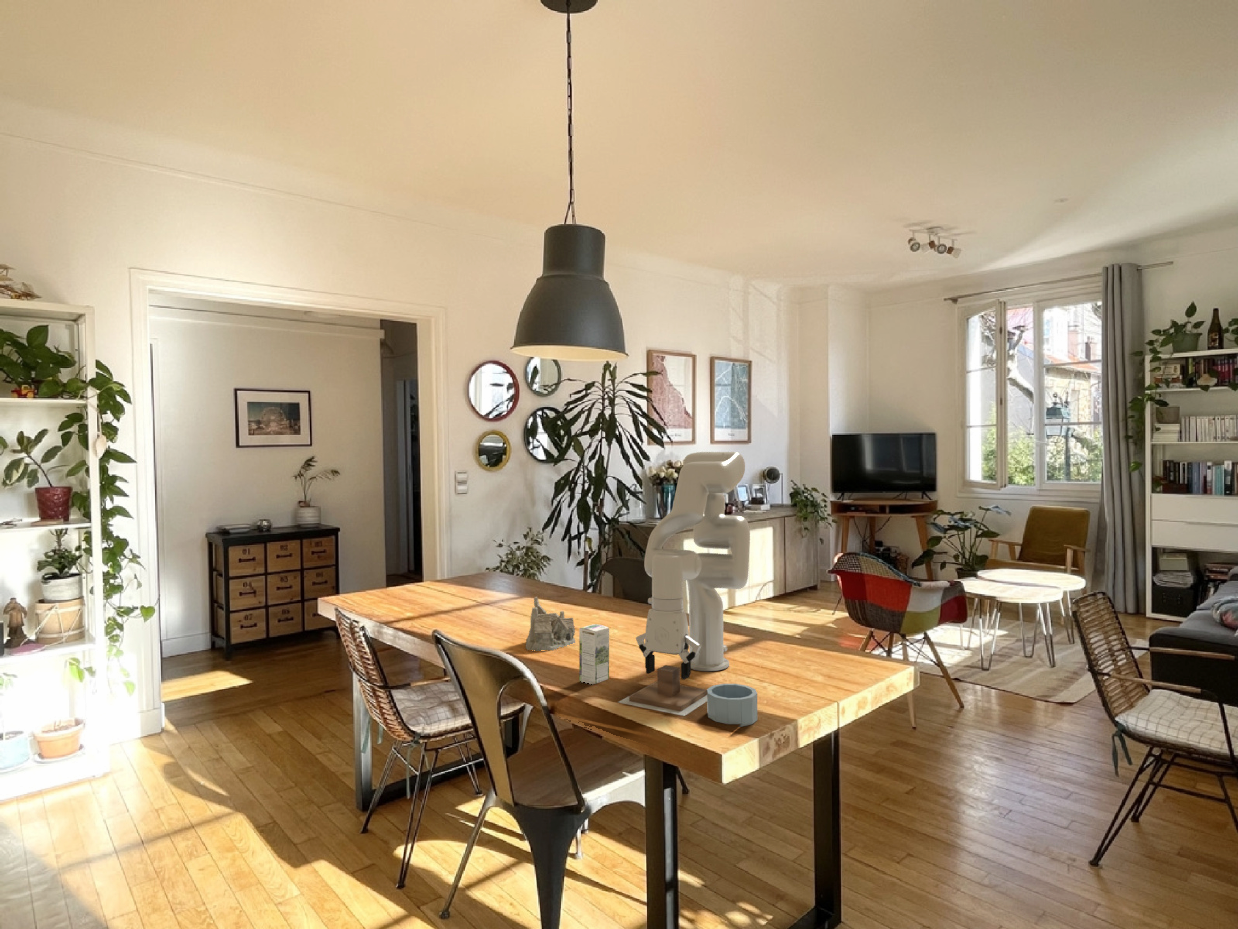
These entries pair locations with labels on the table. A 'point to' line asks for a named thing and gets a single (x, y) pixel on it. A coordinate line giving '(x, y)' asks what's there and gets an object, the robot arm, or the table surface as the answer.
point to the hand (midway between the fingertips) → (667, 675)
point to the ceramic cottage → (549, 630)
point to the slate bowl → (732, 704)
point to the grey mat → (683, 713)
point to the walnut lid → (668, 691)
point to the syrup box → (593, 653)
